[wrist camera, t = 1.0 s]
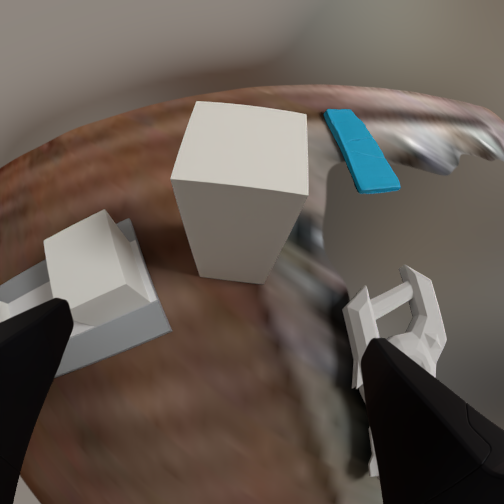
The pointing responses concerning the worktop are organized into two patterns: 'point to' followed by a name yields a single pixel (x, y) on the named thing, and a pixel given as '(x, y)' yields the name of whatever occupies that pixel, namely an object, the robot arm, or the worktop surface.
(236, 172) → the block
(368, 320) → the gun
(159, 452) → the worktop surface
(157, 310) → the board
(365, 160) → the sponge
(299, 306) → the worktop surface
